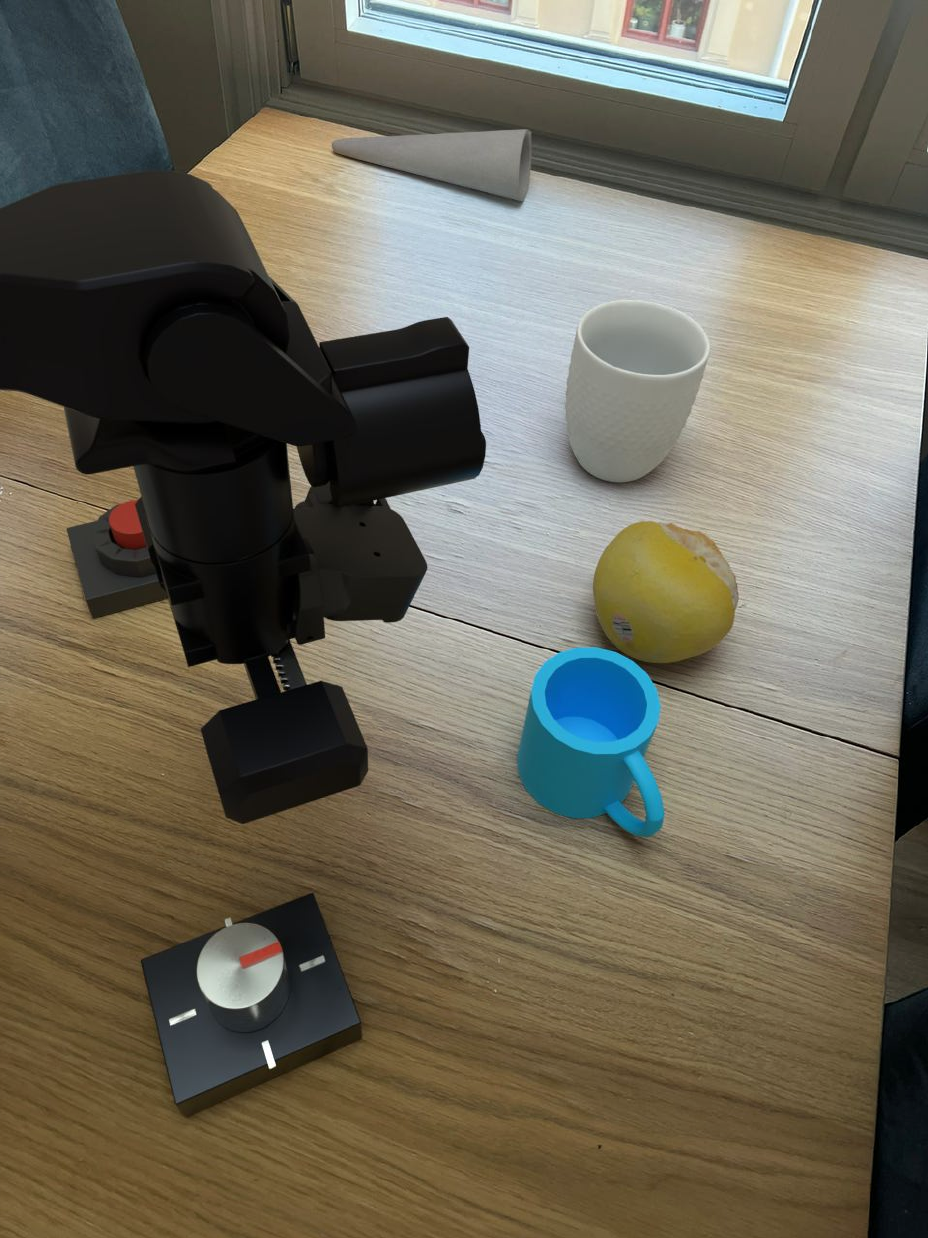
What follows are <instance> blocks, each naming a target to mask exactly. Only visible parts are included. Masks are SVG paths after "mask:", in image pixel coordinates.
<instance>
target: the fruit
mask: <svg viewBox="0 0 928 1238" xmlns="http://www.w3.org/2000/svg"><path fill="white" fill-rule="evenodd" d="M592 595H593V603H594V609H595V614H596V616H597V619H598V622H599V624H600V626H601V628H602V630H603V632H604V634H605V635H606V637H607V638H608V640H609V641H610V642H611V643H612V644H613V646H615V647H616V648H617V649H618V650H619V651H620V652H622V653H624V654H625V655H627V656H629V657H631V658H633V659H634V660H638V661H642V662H645V663H650V664H651V663H652V664H672V663H676V662H677V663H678V662H680V661H684V660H687V659H690V658H694V657H698V656H700V655H703V654H705V653H708V652H709V651H710V650H712V649H714V648H715V647H716V646H718V645H719V643H721V641H723V640H724V638H726V636H727V635H728V633H730V631H731V629H732V628H733V625H734V620H735V614H736V613H735V612H736V609H737V606H738V604H739V599H740V597H739V588H738V583H737V577H736V575H735V573H734V571H733V570H732V569H731V566H730V564H729V562H728V561H727V559H726V558H725V557H724V554H723V553H722V552H721V550H720V549H719V547H718V545H717V544H716V542H715V541H714V540H713V539H711V538H710V537H709V536H707V534H705V533H703V532H701V531H696V530H689V529H688V528H682V527H681V526H678V525H676V524H673V522H671V523H670V522H661V521H660V522H655V521H653V520H650V521H645V520H642V521H638V522H633V523H632V524H629V525H627V526H626V527H624V528H623V529H621V530H620V531H619V532H618V533H617V534H616V536H614V538H613V539H612V540H611V541H610V542H609V544H607V546H606V547H605V549H604V550H603V552H602V554H601V555H600V557H599V559H598V562H597V564H596V567H595V569H594V574H593V581H592Z"/></svg>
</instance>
